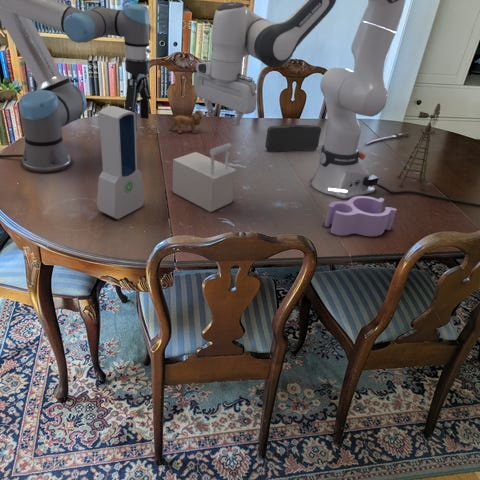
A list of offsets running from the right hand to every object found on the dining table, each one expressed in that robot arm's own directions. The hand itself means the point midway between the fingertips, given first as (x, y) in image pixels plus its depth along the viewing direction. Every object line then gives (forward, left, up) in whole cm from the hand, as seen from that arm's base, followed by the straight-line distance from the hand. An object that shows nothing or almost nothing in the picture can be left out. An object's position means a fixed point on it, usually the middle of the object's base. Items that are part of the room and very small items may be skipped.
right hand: (222, 120), depth 132 cm
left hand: (+19, -33, -12) cm, 40 cm away
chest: (+3, -5, -27) cm, 28 cm away
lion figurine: (-6, -63, -27) cm, 69 cm away
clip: (-38, +21, -27) cm, 51 cm away
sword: (-95, -44, -27) cm, 109 cm away
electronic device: (+29, -2, -27) cm, 40 cm away
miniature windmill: (-76, -2, -27) cm, 81 cm away
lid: (+3, -5, -17) cm, 18 cm away
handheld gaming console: (-44, -39, -27) cm, 65 cm away
